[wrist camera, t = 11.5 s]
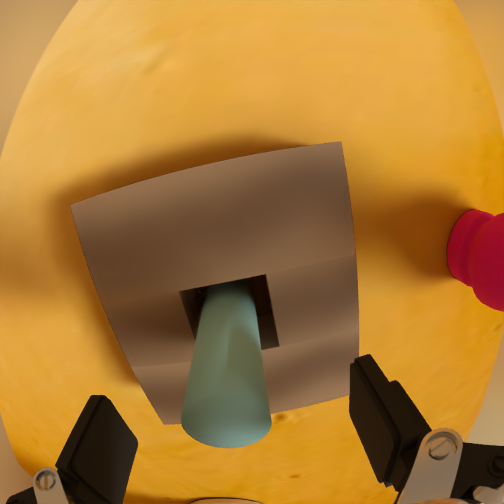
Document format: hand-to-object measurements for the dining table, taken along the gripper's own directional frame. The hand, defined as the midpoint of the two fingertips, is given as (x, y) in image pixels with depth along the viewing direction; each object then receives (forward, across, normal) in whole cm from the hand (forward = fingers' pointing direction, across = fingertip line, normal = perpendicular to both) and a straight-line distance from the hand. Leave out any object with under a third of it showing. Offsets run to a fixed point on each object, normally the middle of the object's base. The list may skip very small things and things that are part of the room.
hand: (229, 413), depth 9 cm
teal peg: (+10, 0, -1) cm, 10 cm away
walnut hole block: (+10, 0, -1) cm, 10 cm away
